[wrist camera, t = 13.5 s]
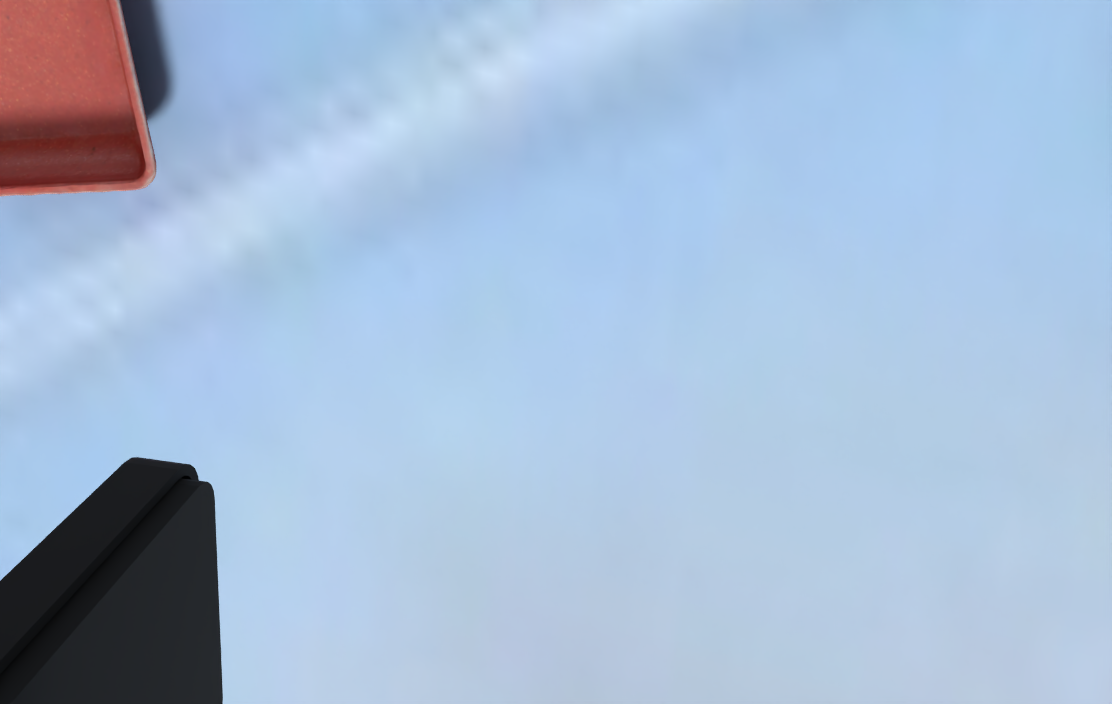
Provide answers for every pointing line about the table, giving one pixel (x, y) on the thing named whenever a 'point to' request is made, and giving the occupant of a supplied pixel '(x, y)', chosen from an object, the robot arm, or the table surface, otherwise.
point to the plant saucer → (70, 100)
